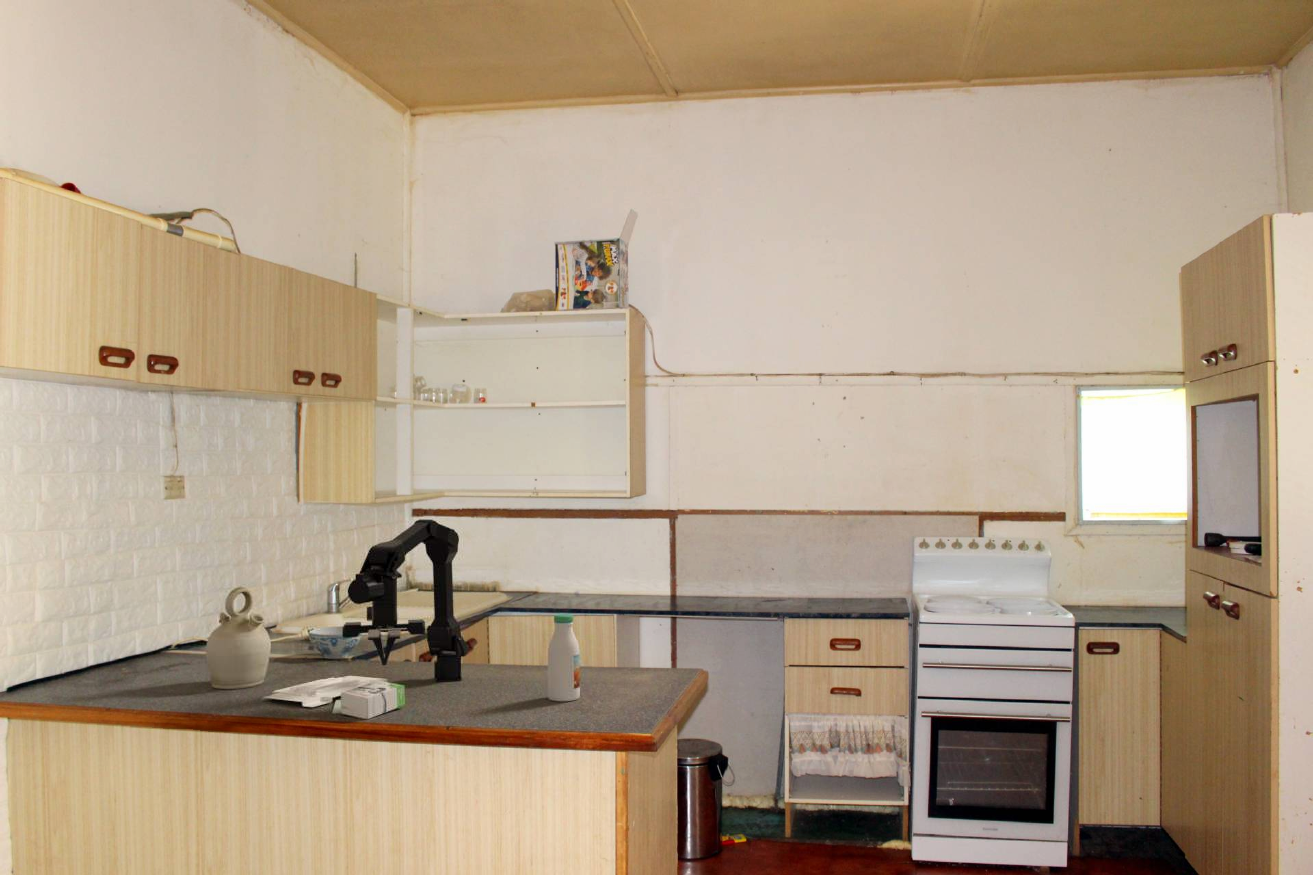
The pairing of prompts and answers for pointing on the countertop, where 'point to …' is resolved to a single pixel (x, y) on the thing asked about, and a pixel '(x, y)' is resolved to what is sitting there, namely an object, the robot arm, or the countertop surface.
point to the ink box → (372, 699)
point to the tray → (320, 690)
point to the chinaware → (333, 641)
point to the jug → (238, 646)
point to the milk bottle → (563, 661)
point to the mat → (337, 707)
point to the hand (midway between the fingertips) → (384, 665)
